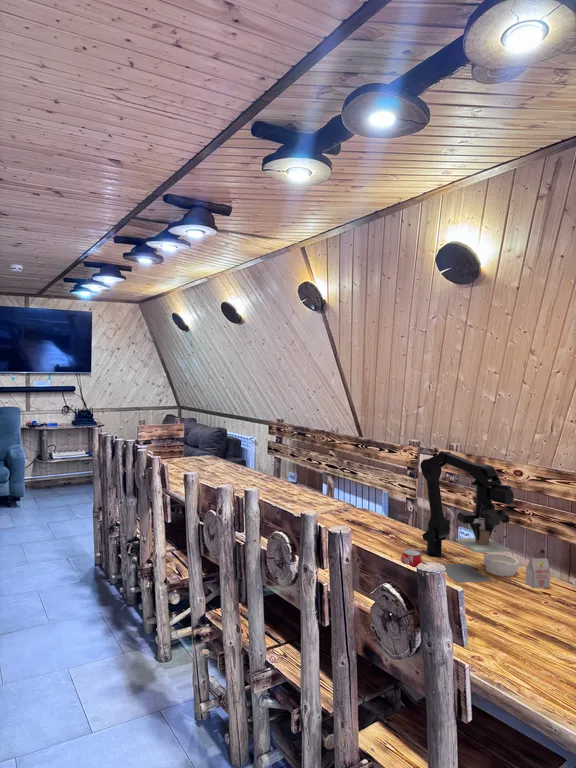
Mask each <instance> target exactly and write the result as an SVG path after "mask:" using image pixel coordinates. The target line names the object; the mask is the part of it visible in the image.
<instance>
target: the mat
mask: <svg viewBox="0 0 576 768" xmlns="http://www.w3.org/2000/svg"><path fill="white" fill-rule="evenodd" d="M441 565H444V566H445V568H446V573H447V575H446V577H448V578H449V579H451V580H453V582H455V583H456V584H461V583H464V584H465V583H479V582H480V583H481V582H492V580H491V579H490V578H489V577H487V576H485V575H484V574H482V573H481V572H479V571H477V570H476V569H475V568H474V567H473V566H470V565H468V563H466V562H465V563H448V564H447V563H445V564H441Z"/></svg>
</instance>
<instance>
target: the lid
mask: <svg viewBox="0 0 576 768" xmlns="http://www.w3.org/2000/svg"><path fill="white" fill-rule="evenodd" d="M489 533H490V532H489V531H487V530H485V528H480V530H479V541H478V540H476V537H475V536H474V537H466V538H464V537H463V538H462V537H460V538H459V537H458V538H455V540H456V542H458V543H460V544H461V545H463V546H464V547H466V548H468V549H469V550H471V551H473V552H474V553H503V552H505V553H507V552H510V548H508V547H506V546H505V545H502V544H501V543H499V542H497V541H495V540H493V539H492V538H490V537H489Z"/></svg>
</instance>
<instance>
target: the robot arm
mask: <svg viewBox="0 0 576 768" xmlns="http://www.w3.org/2000/svg"><path fill="white" fill-rule="evenodd" d="M446 465H450V466H452V467H454V468H457V469H459V470H461V471H463V472H466V473H468V474H469V475H470V476H471V477H472V478H474V481H472V482H471V484H470V485H471V486H475V487H476V488H475V490H476V491H475V499H474V500H473V503H474V504H475V509H474V510H472V512H473V513H470V512H468V511H467V512H466V511H465V512H464V511H463V512H462V511H461V512H460V511H459V512H458V513H457V514H456V520H457V521H459V522H461V523H463V524H469V526H470V528H471V529H472V532H473V535H474V538H475V537H476V540H478V541H479V530H480V529H481V526H482V523H480V521H484V529H485V530H487V531H489V532H490V533H489V538H490V537H491V535H492V533H493V530H494V529H495V528H496V527H497V526H500V524H501V523H503V524H505V523H506V524H508V523H510V515H509V514H507V513H506V511H505V510H504V509H495V503H499V504H503V505H508V506H510V505H512V503H513V501H514V499H515V498H514V497H515V495H514V492H513V490H512V488H511V487H512V486H511V485H508V484H507V485H504V484H502V482H501V479H500V477H499V476H498V474H497V471H496V469H495V467H494V466H493V465H491V464H485V463H479V462H478V463H477V462H475V461H471V460H469V459H466V458H463V457H461V456H459V455H456V454H454V453H451V452H450V451H441V452H440V453H438V454H436V455H434V456H432V457H430V458H425V459H423V460H422V461H421V462H420V470H421V474H422V476H423V478H424V479H425V481H426V485H427V486H426V487H427V488H426V489H427V493H428V495H427V496H428V503H429V504H428V505H429V510H430V511H429V512H430V517H429V520H428V522H427V526H428V527H427V530H426V531H425V532H423V534H422V535H421V536H422V540H423V541H425V542H426V550H423V551H422V552H423V554H425V555H427V556H428V557H429V558H437V557H438V558H441V557H445V555H444V554H443V553H442V548H443V547H442V546H443V544H442V543H443V541H446V540H447V537H448V536H449V535H450V532H451V530H452V529H451V526H450V520H449V519H446V517H445V516H444V511H443V502H442V496H441V495H442V493H441V486H440V478H441V475H442V472H443V471H442V469H443V467H445V466H446Z"/></svg>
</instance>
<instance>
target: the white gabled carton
mask: <svg viewBox="0 0 576 768" xmlns="http://www.w3.org/2000/svg"><path fill="white" fill-rule="evenodd" d="M528 561H529V562H528V564H527V565H526V569H525V570H526V571H525V584H526V585H528V586H529V587H530V588H534V589H535V588H542V589H544V590H545V589H546V590H547V589H550V586H551V585H550V583H551V582H550V581H551V580H550V579H551V569H550V565H549V559H548V558H530V559H529V560H528Z"/></svg>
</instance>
